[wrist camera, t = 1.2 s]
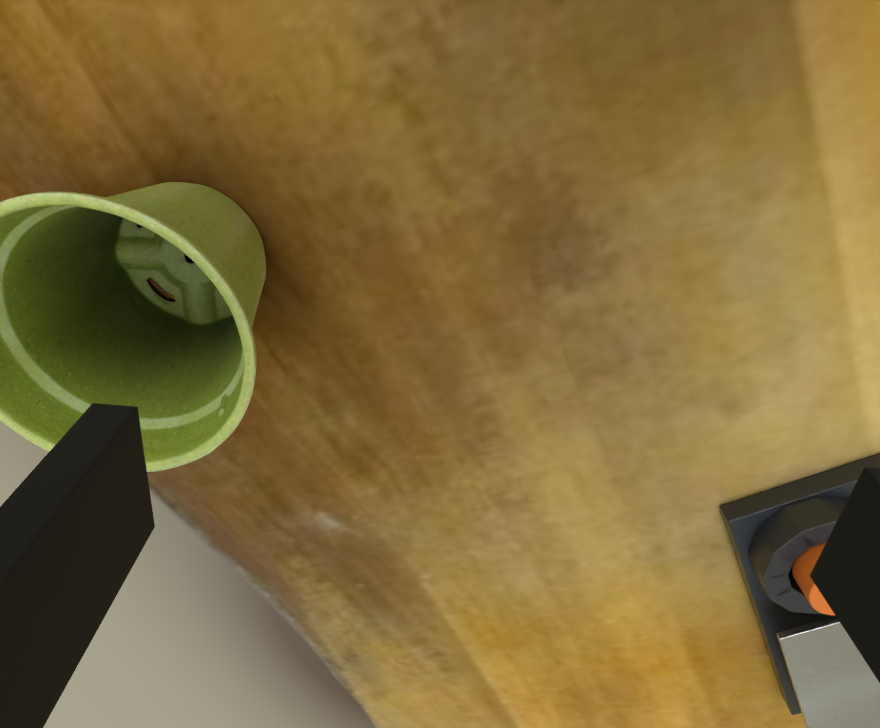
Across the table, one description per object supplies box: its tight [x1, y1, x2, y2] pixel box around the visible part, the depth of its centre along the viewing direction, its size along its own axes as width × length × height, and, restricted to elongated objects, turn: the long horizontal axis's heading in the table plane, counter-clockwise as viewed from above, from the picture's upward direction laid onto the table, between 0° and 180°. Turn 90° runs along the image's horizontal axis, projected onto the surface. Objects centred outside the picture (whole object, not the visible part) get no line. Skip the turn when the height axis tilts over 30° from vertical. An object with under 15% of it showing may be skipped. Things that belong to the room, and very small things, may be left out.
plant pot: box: [0, 182, 266, 472], centre depth 24 cm, size 9×9×9 cm
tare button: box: [792, 543, 835, 615], centre depth 31 cm, size 3×3×2 cm
